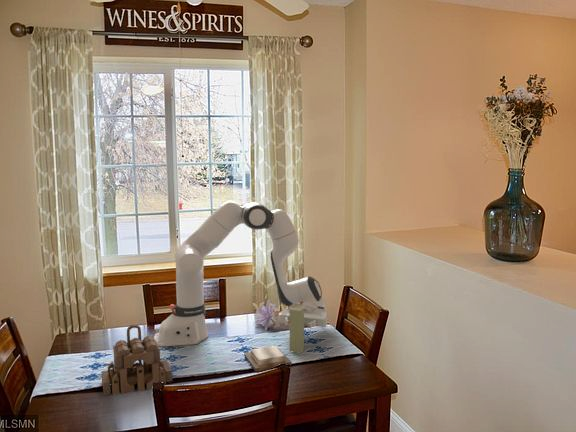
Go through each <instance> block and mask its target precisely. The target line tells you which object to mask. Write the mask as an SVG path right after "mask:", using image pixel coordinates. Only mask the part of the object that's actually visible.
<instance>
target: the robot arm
mask: <svg viewBox="0 0 576 432" xmlns="http://www.w3.org/2000/svg"><path fill="white" fill-rule="evenodd" d="M241 224H244V225H245V226H246V227H247V228H249V229H251V230H257V231H258V230H266V231H267V232H268V235H269V236H270V239H271V242H272V250H271V251H270V263H271V266H272V271H273V276H274V281H275V284H276V288H277V289H276V290H277V296H278V299H279V302H280V303H281V304H283V305H284V306H287V307H290V306H291V305H292V304H300V303H302V305H304V326H307V329H312V328H314V327H319V328H326V327H327V326H328V318H329V317H328V316H329V313H328V308H327V307H325V306H326V304H325V303H326V302H325V299H324V297H323V292H322V291H323V290H322V288H321V285H320V282H319V281H318V280H316V279H315V278H314V277H313V276H306V277H302V278H299V279H297V280H293V281H288V280H287V276H286V272H285V268H284V261H286V259H287V258H288V257H289V256H291V255H292V254H293V253H294V252H295V251H296V250H297V248H298V246H299V242H300V239H299V236H298V233H297V230H296V228H295V225H294V224H293V221H292V220H291V218H290V217H289V214H287V212H286V211H285V210H283V209H274V210H270V209H268V208H267V207H266V206H265V205H263V204H262V203H260V202H257V201H250V202H247V203H243V204H241V205H239V203H237V202H235V201H233V200H226V201H225V202H223V203H222V204H221V205H220V206H219V207H217V208H216V209H215V210H214V211H213V212H212V213H211V214H210V216H208V218H207V219H205V221H204V222H203V223H202V224H201V225H200V226H199V227H198V228H197V229H196V231H194V232H193V233H192V234H191V235H189V237H187V239H185V240H184V241H183V242H182V244H180V246H179V247H177V249H176V250H175V254H174V259H175V260H174V261H175V288H176V289H175V290H176V292H175V293H176V304H174V303H172V304H170V305H169V308H170V310H171V314H170V315H169V316H167V318H166V319H164V320H163V321H162V322H161V323H160V326H159V331H158V332H156V333H155V334H154V336H153V338H154V339H155V340H156V342H157V344H158V346H159V347H160V348H161V347H174V346H187V345H188V346H189V345H197V344H199V343H200V342H201V341H203V340H205V339H207V338H208V337H209V331H208V328H207V323H206V305H205V301H204V299H205V298H204V273H205V272H204V266H205V265H204V263H205V262H204V261H205V258H206V257H207V256H208V255H209V254H210V253H211V252H212V251H214V250H215V249H216V248H218V247H219V246H220V245H221V244H222V243H223V241H224V240H225V239H226V238H228V236H229V235H230V234H231V233H232V232H233V231H234V229H235V228H237V227H238V226H239V225H241ZM277 315H278V317H277V318H278V322H279V323H282V324H283V323H284V325H285V326H290V310H289V308H286V309H283V310H281V311H280V312H279V313H278V314H277Z"/></svg>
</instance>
